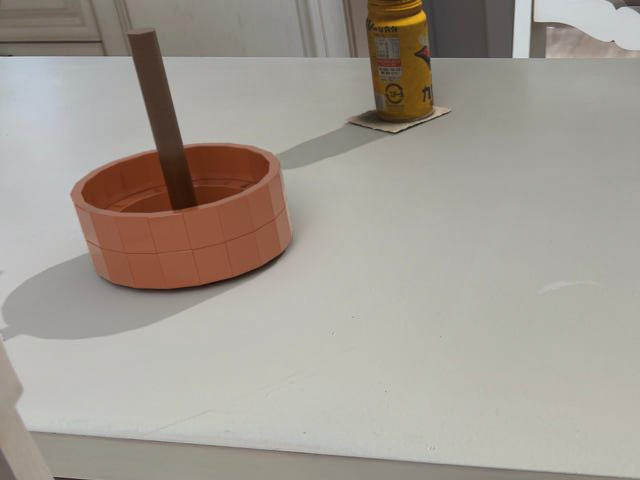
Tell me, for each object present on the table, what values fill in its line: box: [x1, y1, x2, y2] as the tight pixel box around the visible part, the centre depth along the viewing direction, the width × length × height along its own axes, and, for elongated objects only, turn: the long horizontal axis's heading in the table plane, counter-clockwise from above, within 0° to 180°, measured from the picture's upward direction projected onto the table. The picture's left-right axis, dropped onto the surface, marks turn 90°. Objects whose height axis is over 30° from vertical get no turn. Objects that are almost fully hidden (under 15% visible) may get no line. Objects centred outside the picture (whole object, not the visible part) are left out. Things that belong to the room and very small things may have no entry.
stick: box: [125, 26, 198, 211], centre depth 75 cm, size 5×5×16 cm
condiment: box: [344, 0, 452, 133], centre depth 101 cm, size 7×8×12 cm
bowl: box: [69, 142, 294, 290], centre depth 79 cm, size 16×16×6 cm
